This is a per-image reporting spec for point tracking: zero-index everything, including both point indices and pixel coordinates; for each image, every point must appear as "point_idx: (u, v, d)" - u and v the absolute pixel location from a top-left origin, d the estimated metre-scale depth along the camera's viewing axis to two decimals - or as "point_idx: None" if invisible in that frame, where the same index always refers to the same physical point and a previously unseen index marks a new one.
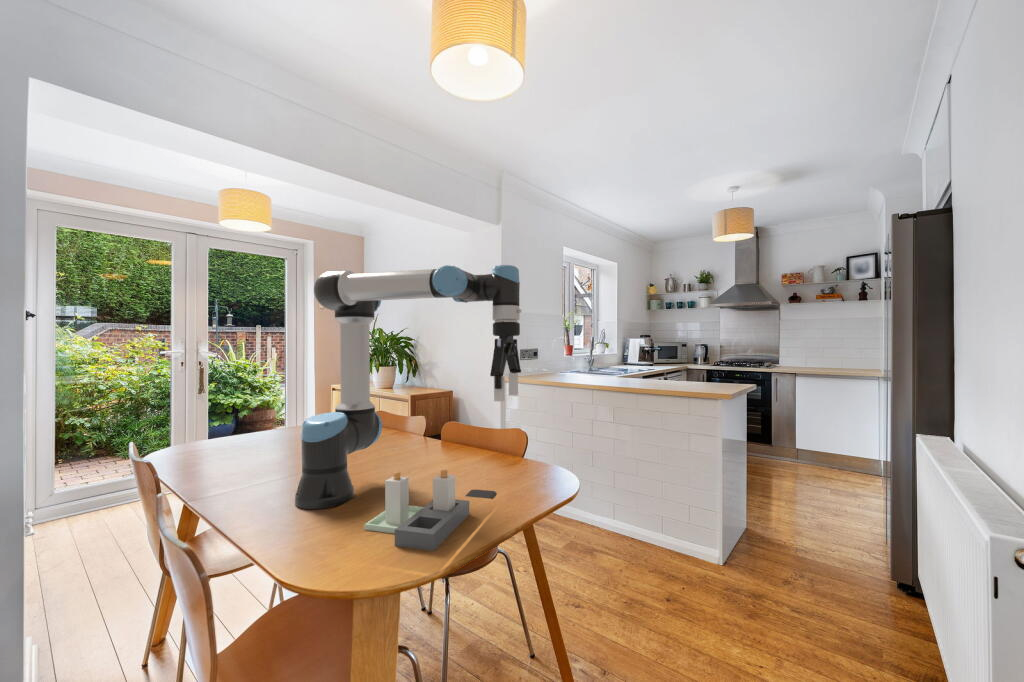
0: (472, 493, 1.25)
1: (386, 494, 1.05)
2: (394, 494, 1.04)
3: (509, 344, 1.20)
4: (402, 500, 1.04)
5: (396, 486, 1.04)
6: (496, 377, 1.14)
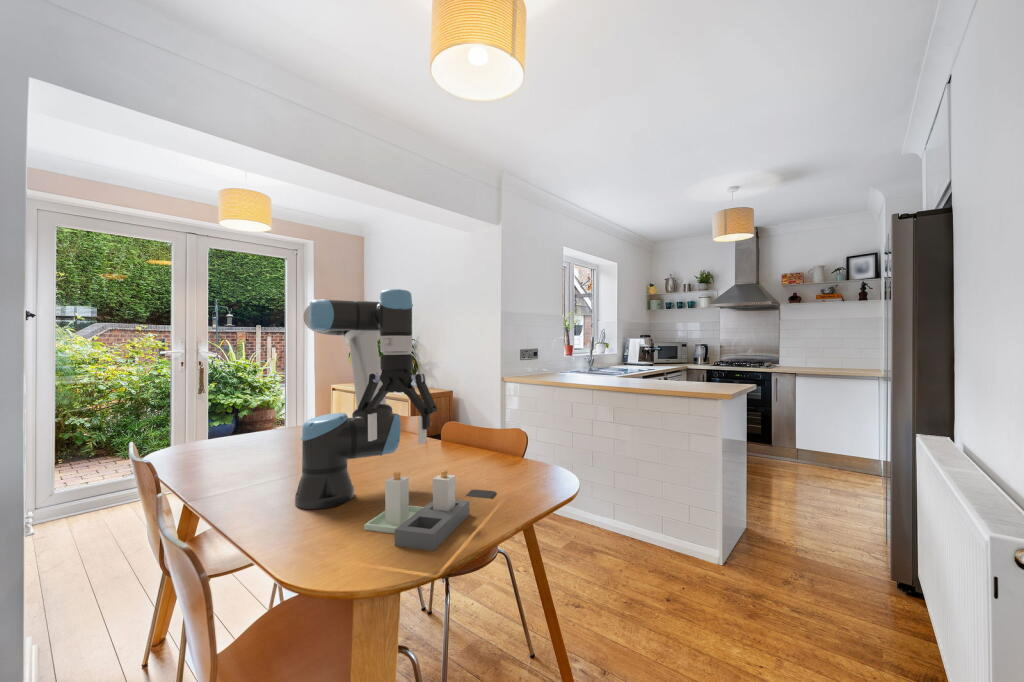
0: (472, 493, 1.25)
1: (386, 494, 1.05)
2: (394, 494, 1.04)
3: None
4: (402, 500, 1.04)
5: (396, 486, 1.04)
6: None
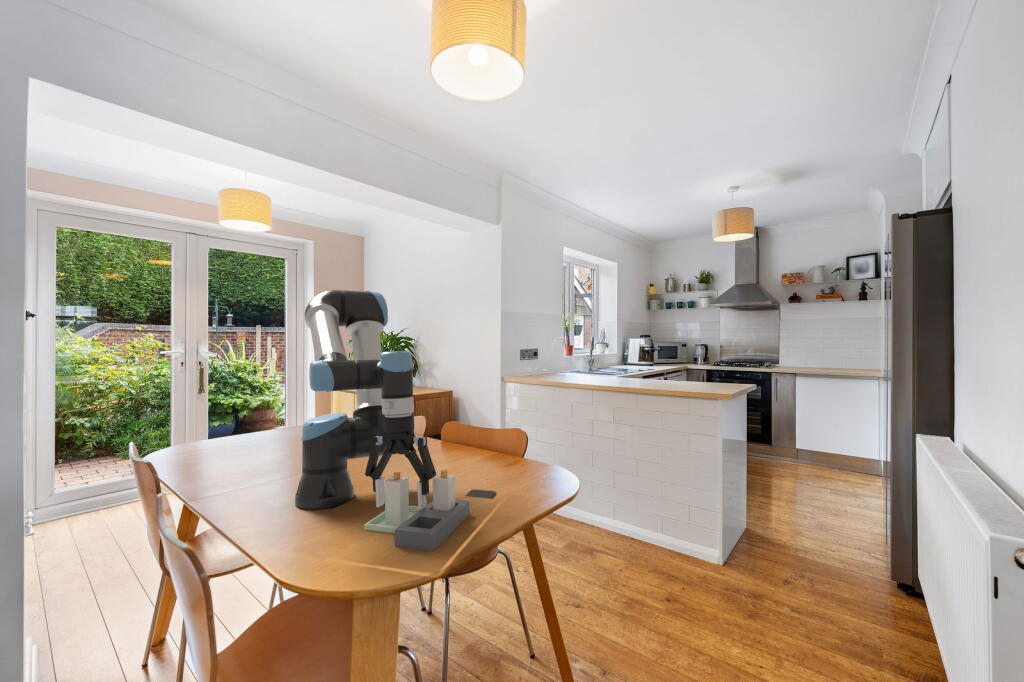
0: (472, 493, 1.25)
1: (386, 494, 1.05)
2: (394, 494, 1.04)
3: None
4: (402, 500, 1.04)
5: (396, 486, 1.04)
6: None
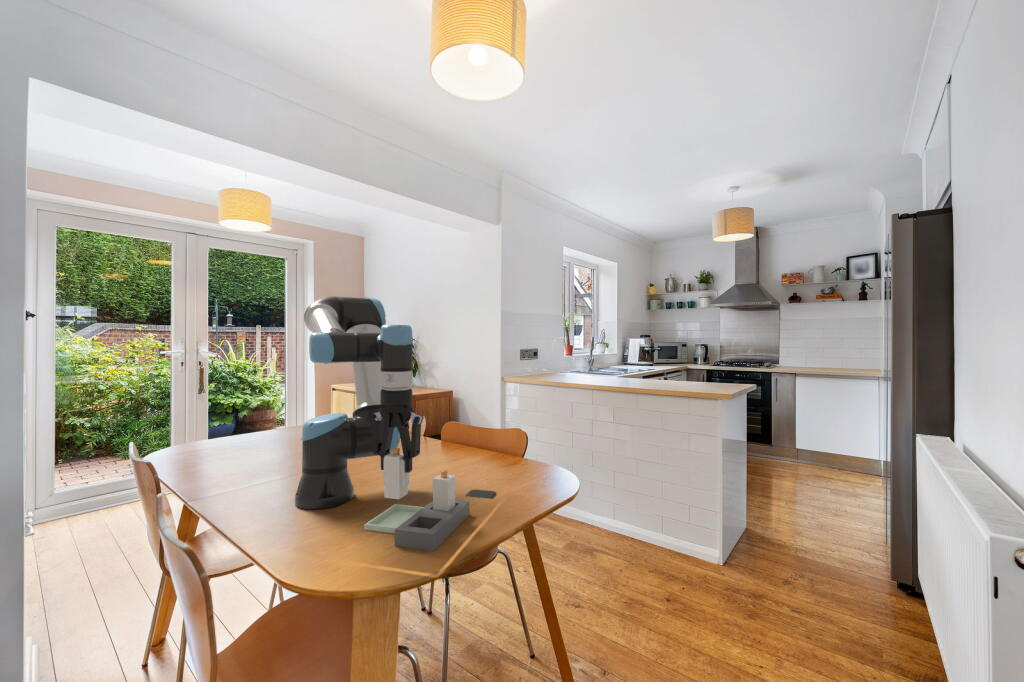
0: (472, 493, 1.25)
1: (385, 469, 1.05)
2: (393, 469, 1.04)
3: None
4: None
5: (395, 462, 1.04)
6: None
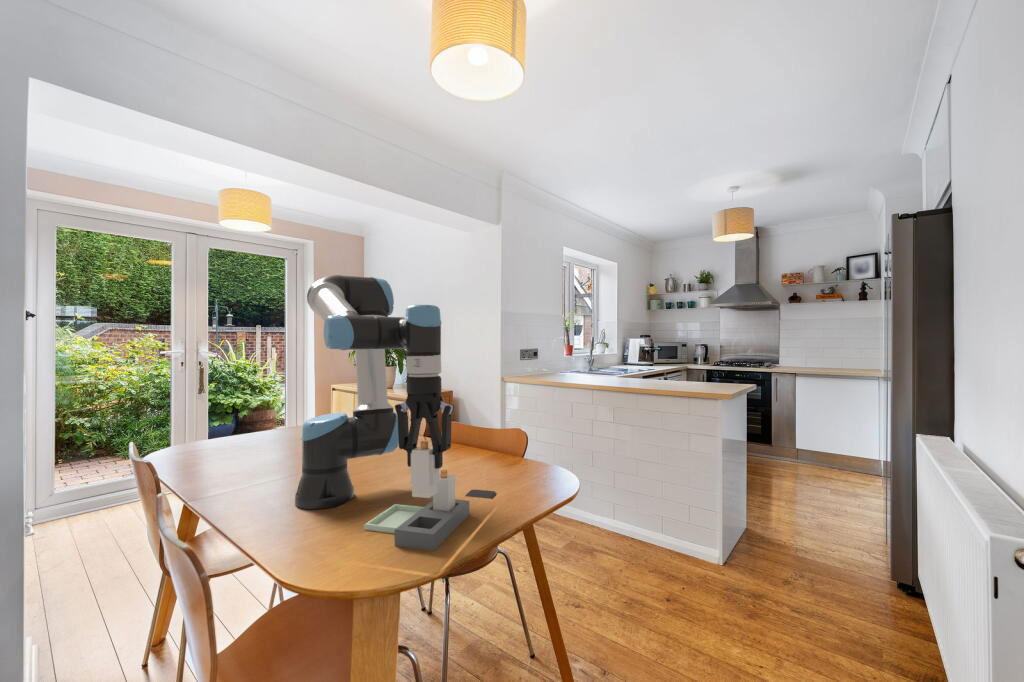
0: (472, 493, 1.25)
1: (413, 465, 0.95)
2: (422, 464, 0.94)
3: None
4: None
5: (423, 456, 0.94)
6: None
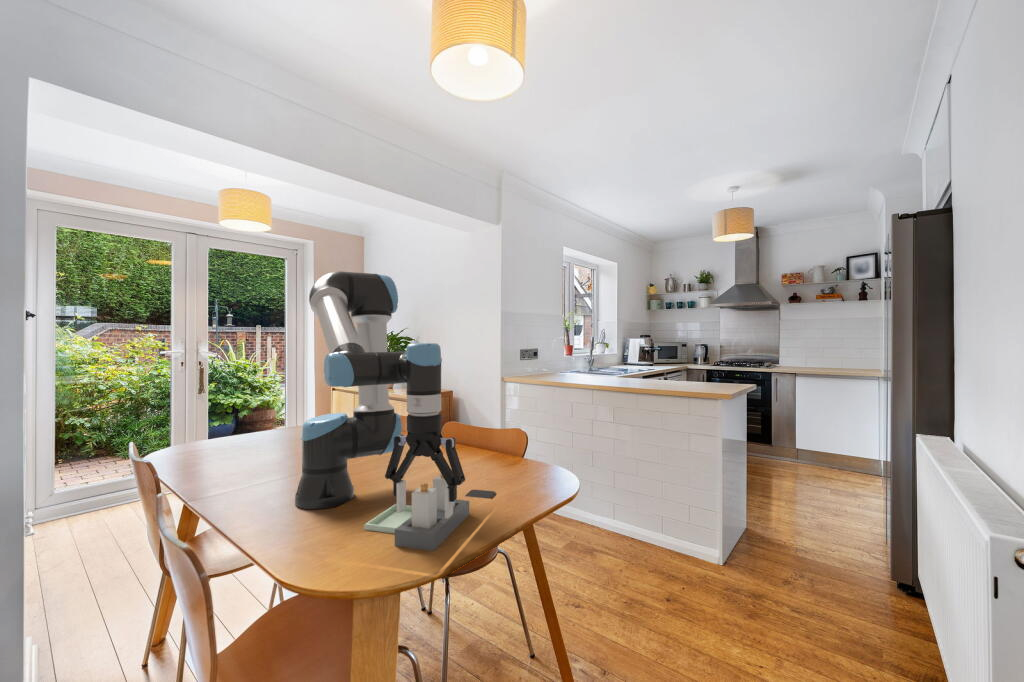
0: (472, 493, 1.25)
1: (413, 508, 0.95)
2: (422, 507, 0.94)
3: None
4: (430, 514, 0.95)
5: (423, 499, 0.94)
6: None
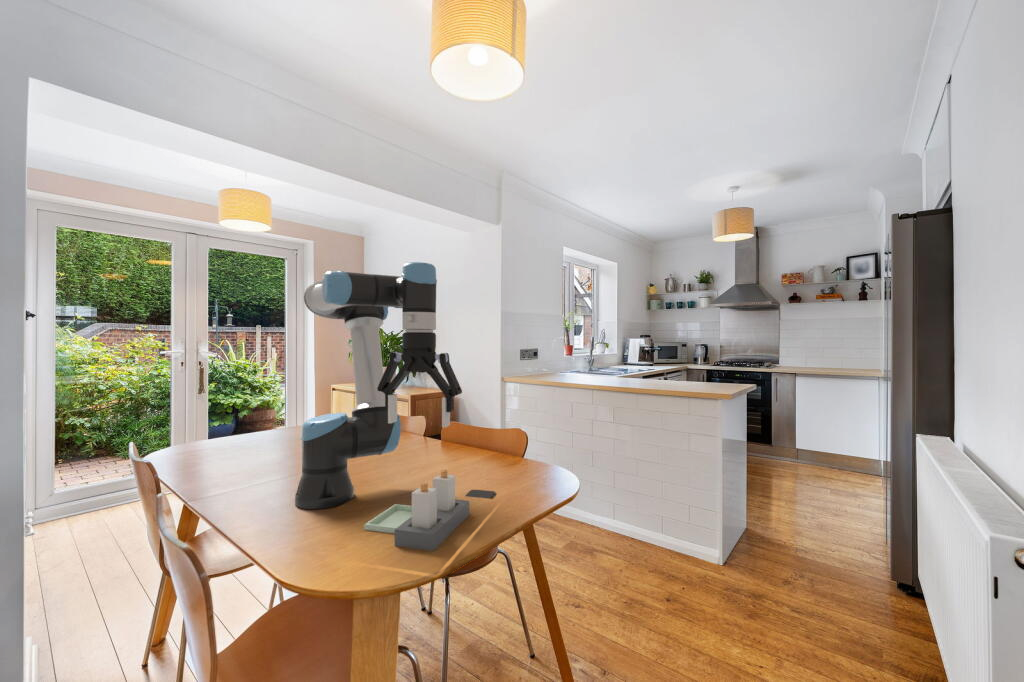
0: (471, 493, 1.25)
1: (413, 508, 0.95)
2: (422, 507, 0.94)
3: None
4: (430, 514, 0.95)
5: (423, 499, 0.94)
6: None
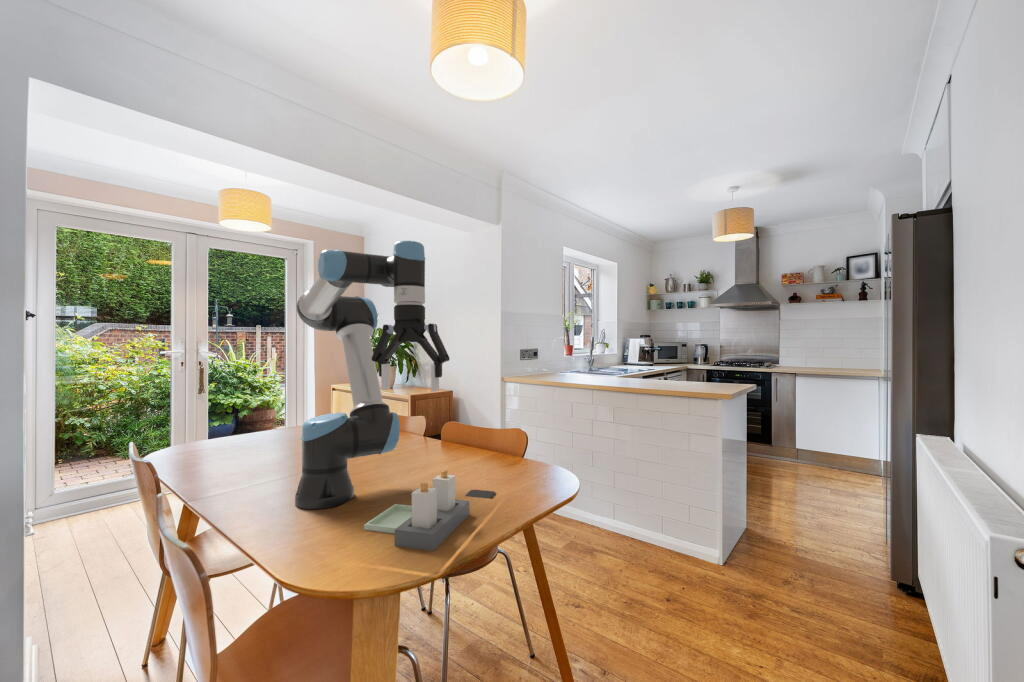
0: (471, 493, 1.25)
1: (413, 508, 0.95)
2: (422, 507, 0.94)
3: None
4: (430, 514, 0.95)
5: (423, 499, 0.94)
6: None
